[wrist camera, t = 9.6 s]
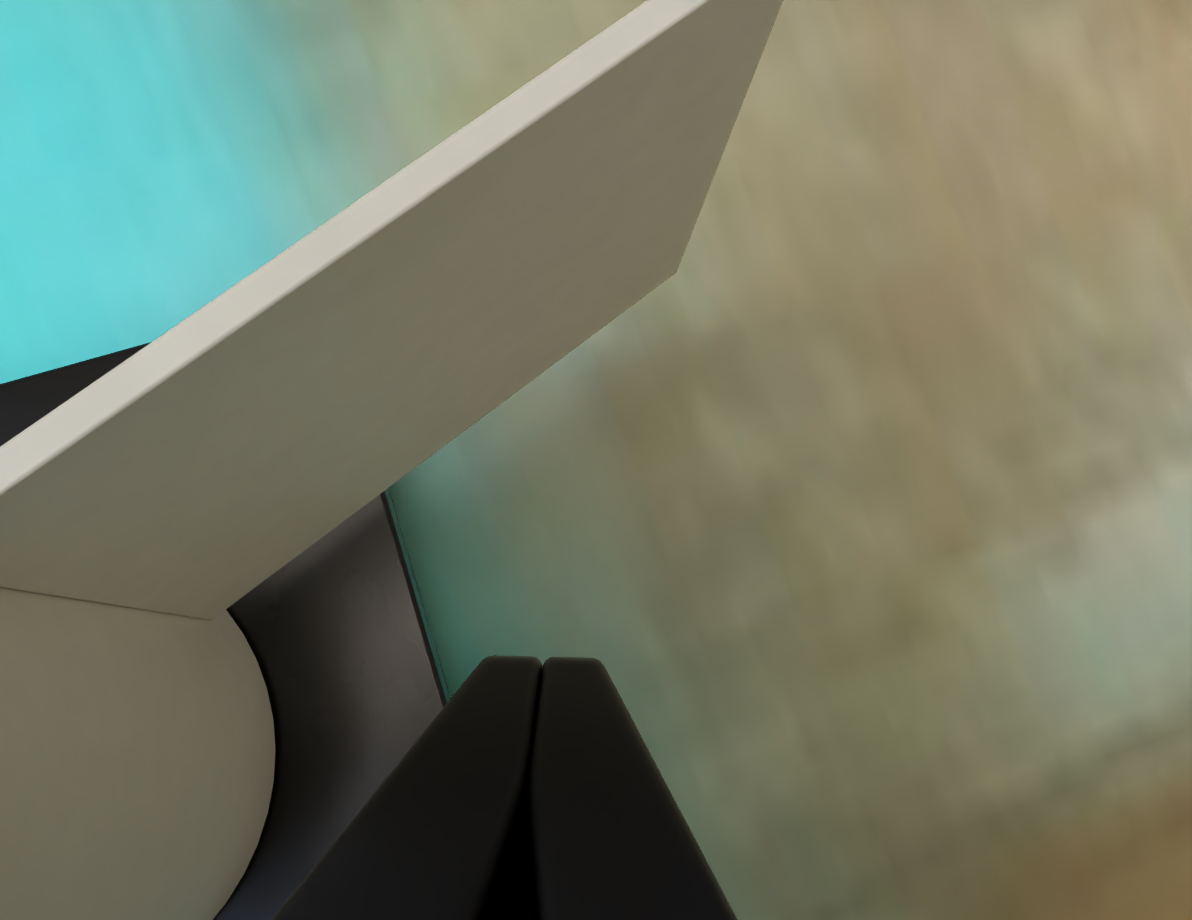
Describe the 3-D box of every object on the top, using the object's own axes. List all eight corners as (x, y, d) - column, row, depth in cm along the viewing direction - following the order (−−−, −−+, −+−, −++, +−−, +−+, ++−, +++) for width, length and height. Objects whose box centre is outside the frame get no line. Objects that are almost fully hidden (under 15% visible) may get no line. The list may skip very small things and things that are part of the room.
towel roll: (665, 300, 18) (827, -113, 9) (226, 1161, 16) (-263, 1980, 6) (205, 71, 19) (-138, -582, 9) (-310, 880, 16) (-1639, 1220, 6)
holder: (541, 1004, 18) (542, 1029, 16) (-243, 1292, 16) (-302, 1341, 15) (337, 314, 19) (326, 291, 18) (-381, 516, 18) (-443, 505, 17)
